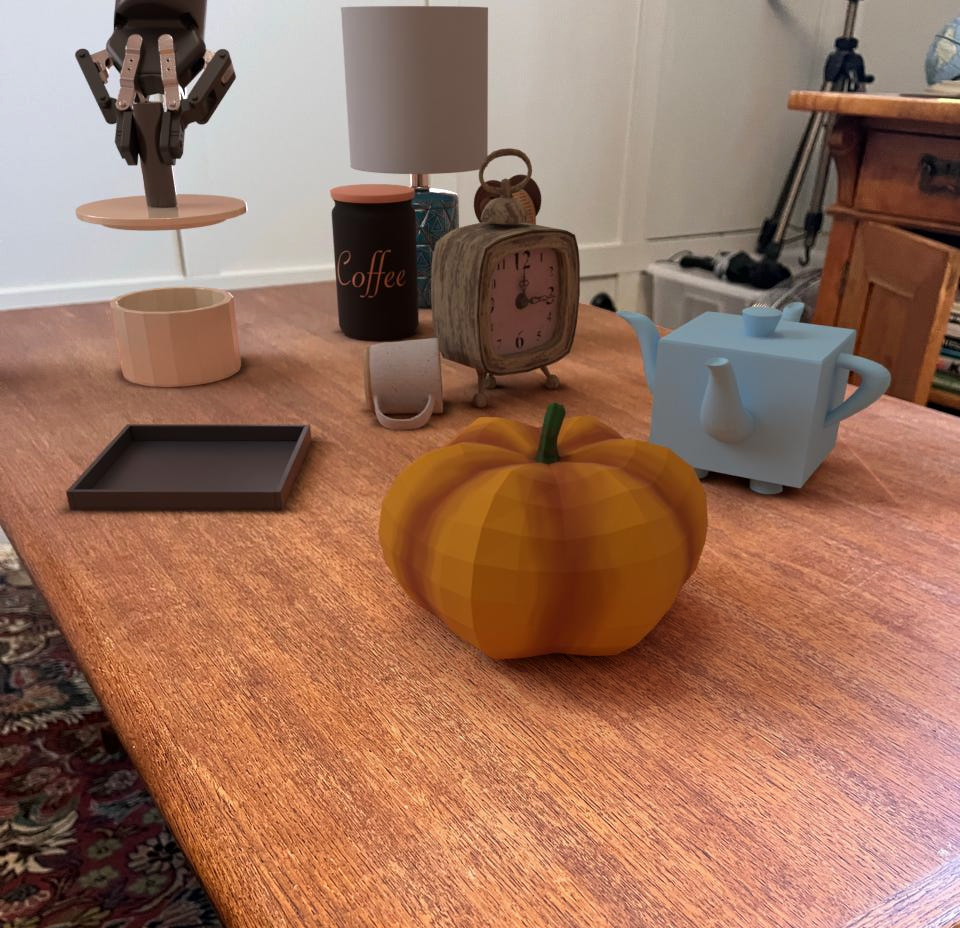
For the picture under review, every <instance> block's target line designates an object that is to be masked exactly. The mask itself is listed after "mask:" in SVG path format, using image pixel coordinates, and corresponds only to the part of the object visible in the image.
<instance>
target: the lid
mask: <svg viewBox="0 0 960 928" xmlns="http://www.w3.org/2000/svg"><path fill="white" fill-rule="evenodd" d="M164 104H165V103H164V102H163V101H161V100H149V101H136V102H131V107H132V114H133V120H134V127H135V133H136V139H137V146H138V152H139V155H138V159H139V164H140V171H141V176H142V183H143V190H144V195H133V196H123V197H114V198H105V199H102V200H94V201H91V202H87V203H83V204H81V205H79V206H78V207H76V208H75V215H76V218H77V219H78V220H79V221H82V222H85V223H88V224H93V225H99V226H100V225H101V226H103V227H104V228H105V227H106V228H110V229H113V230H114V229H115V230H124V231H141V232H142V231H144V232H145V231H147V232H148V231H151V232H152V231H177V230H188V229H197V228H198V229H199V228H203V227H209V226H214V225H218V224H221V223H223V222H225V221H227V220H230V219H235V218H238V217H240V216H243V215H244V214H246V213H247V212H248V205H247V202H246V201H245V200H243V199H240V198H236V197H232V196H225V195H215V194H198V193H197V194H192V193H177V190H176V189H177V188H176V183H175V175H174V174H175V173H174V168H173V166H166V164H165V162H164V160H163V157H162V155H161V152H160V136H161V124H162V112H166V110H165V105H164Z"/></svg>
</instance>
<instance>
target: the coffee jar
mask: <svg viewBox="0 0 960 928" xmlns="http://www.w3.org/2000/svg"><path fill="white" fill-rule="evenodd" d="M329 193H330V198H331V199H332V200H333V202H334V206H333V208H332V210H331V227H332V241H333V255H334V257H333V258H334V271H335V283H336V284H335V287H336V300H337V301H336V302H337V315H338V326H339V328H340V330H341V332H342V334H344V336H345V337H347V338H350V339H353V340H357V341H366V342H391V341H395V340H402V339H405V338H410V336H413V335H414V333H415V332H416V331H417V330H418V328H419V324H420V322H419V321H420V320H419V318H420V317H419V316H420V315H419V308H418V279H417V244H416V212H415V209H414V208H413V206H412V205H411V201H412V200H413V198H414V197H415V189H413V188H412V187H410V186H407V185H400V184H389V183H367V184H366V183H365V184H364V183H360V184H350V185H340V186H336V187H333V188H332V189H330V190H329Z"/></svg>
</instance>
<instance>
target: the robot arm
mask: <svg viewBox="0 0 960 928" xmlns="http://www.w3.org/2000/svg"><path fill="white" fill-rule="evenodd" d="M208 2H209V0H115V3H114V11H113V32H112V34H111V36H110V37H109V38H108V40H107V41H106V43H105V49H102V50H100V51H97V52H95V53H92V54H91V53H90V51H89V50H88V49H86V48H79V49H77V50H76V51H75V53H74V58H75V59H76V61H77V63H78V65H79V68H80V70H81V73H82V75H83V76H84V78H85V81H86V83H87V85H88V88H89V89H90V91H91V94H92V95H93V97H94V100H95V102H96V104H97V106H98V107H99V110H100V112H101V115H102V116H103V119H104V121H105V123H107V124H108V125H115V132H114V133H115V135H114V144H115V146H116V149H117V151H118V153H119V155H120V157H121V159H123V160H124V161H125V162H126V164H127V166H129V167H131V166H132V167H133V166H135V167H136V166H138V164H139V152H138V146H137V139H136V133H135V127H134V120H133V114H132V107H131V102H136V101H150V98H151V96H153V95H158V94H160V95H163V96H164V102H165V103H164V104H165V107H166V110H165V112H162V124H161V136H160V152H161V155H162V157H163V160H164V162H165V164H166V166H172V167H173V166H174V167H175V166H176V164H177V160H180V159H182V156H183V155H184V147H185V134H186V129H187V128H188V127H189V125H190V124H192V123H193V124H194V123H196V124H198V125H201V126H202V125H206V124H208V122H209V121H210V120H211V118H212V116H213V115H214V113H215V112H216V110H217V109H218V107H219V106H220V104H221V102H222V101H223V99H224V98H225V96H226V94H227V93H228V91H229V90H230V89H231V87H232V85H233V84H234V83H235V80H236V79H237V75H236V72H235V66H234V64H233V60H232V57H231V54H230V52H229V50H228V49H225V48H220V49H218V50H216V52H215V51H213V50H211V49H207V46H206V42H205V41H206V27H207V15H208ZM112 67H114V68H115V69H116V71H117V72H118V74H119V90H118V94H117V98H114V97H112V96H110V94H109V91H108V89H107V88H106V84H108V83H109V78H110V69H111V68H112ZM202 71H203V72H202ZM201 72H202V73H201ZM200 73H201V75H200V76H199V74H200ZM197 76H199V78H198V80H196V82H195V84H194V85H193V86H192V88H191V90H190V91H189V93H188V95H187V87H188V86H189V85H190V84H191V83H192V82H193V81H194V79H195V78H197Z"/></svg>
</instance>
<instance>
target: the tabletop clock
mask: <svg viewBox="0 0 960 928" xmlns="http://www.w3.org/2000/svg"><path fill="white" fill-rule="evenodd" d="M510 156H511V157H517V158H519V159H521V160H522V161H523V162H524V163H525V165H526V168H527V174H526V175H527V177H526V178H525V179H524V180H523V181H522V182H521V183H519V184H517V185H515V186H511V182H510V180H509V179H510V178H509V179H508V178H503V179H501V181H500V182H501V188H495V187H492V186H489V185H488V184H487V183H485V182H486V181H485V179H484V174H485V173H484V172H485V170H486V168H487V167H488V166H487V165H489V164H490V163H491V162H492V161H493V160H495V159H498V158H501V157H510ZM486 166H487V167H486ZM532 175H533V166H532V163H531V159H530V158H529V156H528V155H527V154H526V153H525V152H523V151H522V150H520V149H517V148H510V147H509V148H499V149H497V150H493V151H492V152H490V153H489V154H488V156H487V157H486V158H485V159H484V161H483V162H482V164H481V167H480V170H478V181H479V183H480V186H482V187H483V188H484V189H485V190H486V191H487V192H489V193H492V194H495V195H501V198H496V199H493V200H491V201H490V202H489V203H488V204H487V205H486V206H485V208H484V210H483V212H482V216H481V221H482V222H481V223H480V222H477V223H473V224H468V225H464V226H459V228H456V229H454V230H452V231H450V232H449V233H447V234H446V235H444V236H443V237H442V238H440V239H439V240H438V241H437V242H436V245H435V248H434V252H433V259H432V275H431V303H432V308H431V317H432V328H433V334H434V338H438V340H439V348H440V356H441V357H442V358H443V359H444V360H448V361H450V362H454V363H456V364H459V365H462V366H465V367H469V368H471V369H474V370H475V372H476V374H477V393H475V394H473V397H472V404H473V406H474V407H476V408H479V409H481V408H485V407H486V405H487V403H488V398H487V395H486V394H485V393H484V391H485V390H484V389H495V388H496V386H497V384H498V383H497V378H496V377H503V376H511V375H517V374H518V375H519V374H525V373H530V372H533V371H536V370H539V369H540V371H541V372H542V373H543V374H544V376H545V380H544V381H545V386H546V387H547V388H548V389H549V390H551V389H553V390H554V389H555V390H556V389H557V388H559V385H560V378H559V377H558V376H557V375H556V374H551V373H550V371H549V368H548V366H551V365H553V364H556V363H557V362H560V361H561V360H563V359H564V358H565V357H566V356H568V355H569V354H570V353H571V350H572V347H573V344H574V340H575V337H576V331H577V325H578V316H579V308H580V307H579V306H580V296H581V264H580V263H581V261H580V251H579V244H578V241H577V236H576V234H574V233H572V232H571V231H569V230H566V229H561V228H555V227H552V226H551V227H550V226H545V225H541V224H536V225H535V224H529V223H524V222H528V221H530V218H529V215H528V212H527V210H526V208H525V206H524V205H523V204H522V202H521V201H520V200H518V199H515V198H510V197H511V194H513V193H516V192H518V191H520V190H521V189H523V188H524V187H525V186H526V185H527V183H528V182H529V180H530V178H532ZM495 376H496V377H495Z"/></svg>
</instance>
